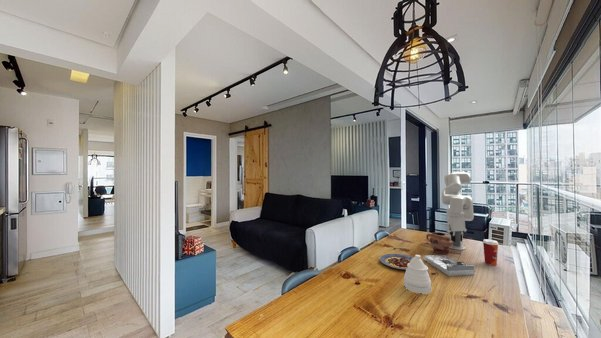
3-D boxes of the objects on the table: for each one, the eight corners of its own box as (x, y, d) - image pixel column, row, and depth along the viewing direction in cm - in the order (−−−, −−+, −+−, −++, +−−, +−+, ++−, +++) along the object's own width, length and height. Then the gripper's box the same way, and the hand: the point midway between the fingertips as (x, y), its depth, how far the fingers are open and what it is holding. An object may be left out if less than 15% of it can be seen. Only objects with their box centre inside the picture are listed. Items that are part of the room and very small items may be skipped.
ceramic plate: (412, 256, 164) (412, 252, 164) (429, 273, 138) (429, 268, 138) (375, 256, 167) (375, 252, 167) (385, 271, 141) (385, 267, 141)
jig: (423, 259, 158) (423, 252, 158) (445, 258, 159) (445, 251, 159) (448, 276, 134) (448, 266, 134) (474, 274, 135) (474, 265, 135)
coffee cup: (499, 267, 145) (499, 243, 145) (482, 264, 150) (482, 241, 150) (498, 262, 152) (498, 240, 152) (482, 259, 157) (482, 238, 157)
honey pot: (435, 295, 113) (434, 259, 113) (407, 293, 116) (406, 258, 116) (426, 283, 126) (425, 250, 126) (401, 281, 129) (401, 249, 129)
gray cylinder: (451, 244, 159) (451, 230, 159) (457, 244, 160) (457, 230, 159) (456, 246, 155) (455, 232, 155) (462, 246, 155) (462, 232, 155)
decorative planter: (421, 249, 179) (421, 231, 179) (430, 246, 185) (429, 229, 185) (448, 257, 162) (448, 237, 162) (457, 254, 168) (457, 235, 168)
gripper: (463, 212, 161) (463, 238, 162) (440, 214, 160) (441, 239, 160) (472, 215, 154) (472, 242, 154) (448, 216, 152) (449, 243, 153)
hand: (456, 240), depth 157 cm, fingers closed on gray cylinder, 4 cm apart
